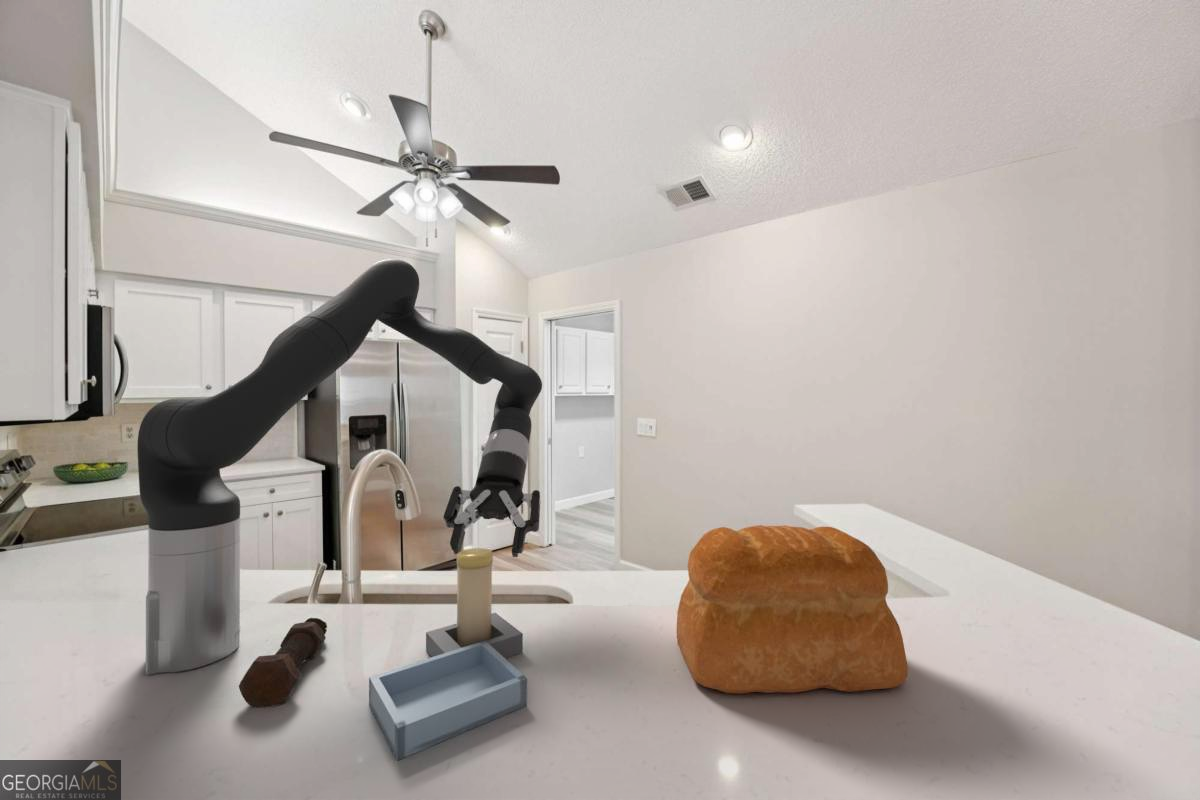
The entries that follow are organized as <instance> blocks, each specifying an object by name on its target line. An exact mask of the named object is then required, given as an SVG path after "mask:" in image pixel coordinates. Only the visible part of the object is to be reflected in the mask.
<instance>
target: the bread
mask: <svg viewBox="0 0 1200 800" xmlns="http://www.w3.org/2000/svg"><path fill="white" fill-rule="evenodd" d="M687 560H688V561H687V572H688V578H689V579H688V581H687V584H686V586H685V588H684V589H683V592H682V593H681V594H680V599H679V602H678V607H677V608H678V609H677V611H676V612H677V613H676V614H677V616H676V640H677V641H676V643H677V646H678V648H679V650H680V653H681V655H682V657H683V659H684V663H685V664H686V666H687V668H688V670H689V671H690V675H691V678H692V679H693V680H694V681H695V682H696V683H697V684H699V685H701V686H702V687H705V688H708V689H713V690H717V691H719V692H724V693H726V694H747V693H754V692H757V693H765V694H766V693H767V694H771V693H785V694H786V693H787V694H788V693H803V692H809V691H811V690H816V689H820V688H821V689H822V688H825V689H829V690H833V691H840V692H847V693H851V692H861V691H869V690H881V689H894V688H896V687H899V686H900V685H901V684H903V683H905V681H906V679H907V677H908V674H909V673H908V672H909V666H908V661H907V660H908V659H907V655H906V650H905V643H904V639H903V634H902V632H901V627H900V625H899V623H898V621H897V618H896V617H895V615H894V614H893V612H892V609H890V607H889V605H888V603H887V600H886V596H887V595H888V593H889V581H888V576H887V572H886V567H885V566H884V564H883V563H882V562H881V560H880V559H879V557H878V556H877V554H876V552H875V551H874V550H873V549H872V548H871V547H870V546H869V545H867V544H866V543H865V542H863V541H862V540H860V539H858V538H856V537H853V535H850V534H848V533H846V531H843V530H840V529H837V528H835V527H833V526H818V527H815V528H811V529H808V528H805V527H802V526H791V525H790V526H789V525H762V524H761V525H759V524H758V525H753V526H748V527H743V528H741V529H739V530H734V529H732V528H729V527H726V526H722V527H717V528H713V529H711V530H709V531H707V532H706V533H704V534H703V535H702V536H701V538H699V540H698V541H697V542H696V544H695V546H694V547H693V548H692V549H691V550H690V552H689V555H688V559H687Z"/></svg>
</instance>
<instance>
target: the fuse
mask: <svg viewBox="0 0 1200 800" xmlns="http://www.w3.org/2000/svg"><path fill="white" fill-rule="evenodd" d="M493 556H494V553H493V550H491V549H488V548H483V547H482V548H476V547H475V548H469V549H468V548H467V549H464V550H461V552H459V553H458V554H456V567H457V572H456V573H457V579H456V581H457V583H456V584H457V585H456V586H457V587H456V588H457V589H456V592H457V593H456V594H457V595H456V598H457V599H456V605H457V606H456V624H457V644H458V645H459V646H460V647H461V648H463V647H466V646H469V645H472V644H475V643H478V642H482V641H487V640H490V639H491V614H492V601H493V600H492V599H493V598H492V594H493V593H492V592H493V591H492V590H493V588H492V587H493V584H492V582H493V581H492V580H493V577H492V576H493V575H492V574H493V573H492V570H493V560H494V559H493V558H494V557H493Z"/></svg>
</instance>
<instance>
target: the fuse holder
mask: <svg viewBox="0 0 1200 800" xmlns="http://www.w3.org/2000/svg"><path fill="white" fill-rule="evenodd" d="M523 640H524V639H523V633H522V632H521V631H520V630H518V628H516V627H515V626H513V625H512V624H511V623H509V622H508V621H507V620H505V619H504V618H503V617H502V616H500V615H499V614H498V613H497V612H491V639H490V640H487V641H486V642H487V643H488V644H489V645H491V646H492V647H493V648H494V649H495V650H496V651H497V652H498V653H499V654H501V655H502V656H503V657H504V658H505V659H508V658H511V657H513V656H516V655H519V654H522V653H523V649H524V648H523V645H524V644H523V643H524V642H523ZM459 648H461V647H460V646H459V645H458V644H457V623H455V624H450V625H446V626H443V627H440V628H436V629H433V630H428V631H426V632H425V652H426V653H427V654H428V655H429V657H430V658H431V657H434V656H437V655H440V654H444V653H447V652H450V651H453V650H456V649H459Z"/></svg>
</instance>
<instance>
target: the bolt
mask: <svg viewBox="0 0 1200 800" xmlns="http://www.w3.org/2000/svg"><path fill="white" fill-rule="evenodd" d="M327 630H328V624H327V622H325V621H324V620H322V619H321V618H317V617H310V618H307V619H306V620H305V621H304V622H297V623H294V624H293V625H292V626H291V627H290V629H289V630H288V631H287V633H286V635H285V636H284V638H283V639H282V641H281V643H280V648H279V649H278V650H277V652H275V653H274V654H270V655H269V654H267V655H259V656H257V657H256V658H255V659H254V661H253V662H252V663H251V665H250V667H248V669H247V670H246V672H245V673H244V675H243V677H242V678H241V680H240V682H239V684H238V689H239V692H240V693H241V696H242V698H243V700H244V701H245V702H246V704H248V706H250V707H251V708H267V707H268V708H269V707H276V706H280V705H284V704H285V703H286V701H287V699H288V698H289V697H290V695H291V694H292V692H293V690H294V688H295V687H296V685H297V684H298V682H299V680H300V678H301V677H302V673H301V672H300V670H299V668H301V666H302V665H303V663H304V662H305V661H309V660H314V658H315V657H316V655H317V654H318V652H319V650H320V649H321V647H322V646H323V645H324V642H325V640H326V639H327V637H326V633H327Z"/></svg>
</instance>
